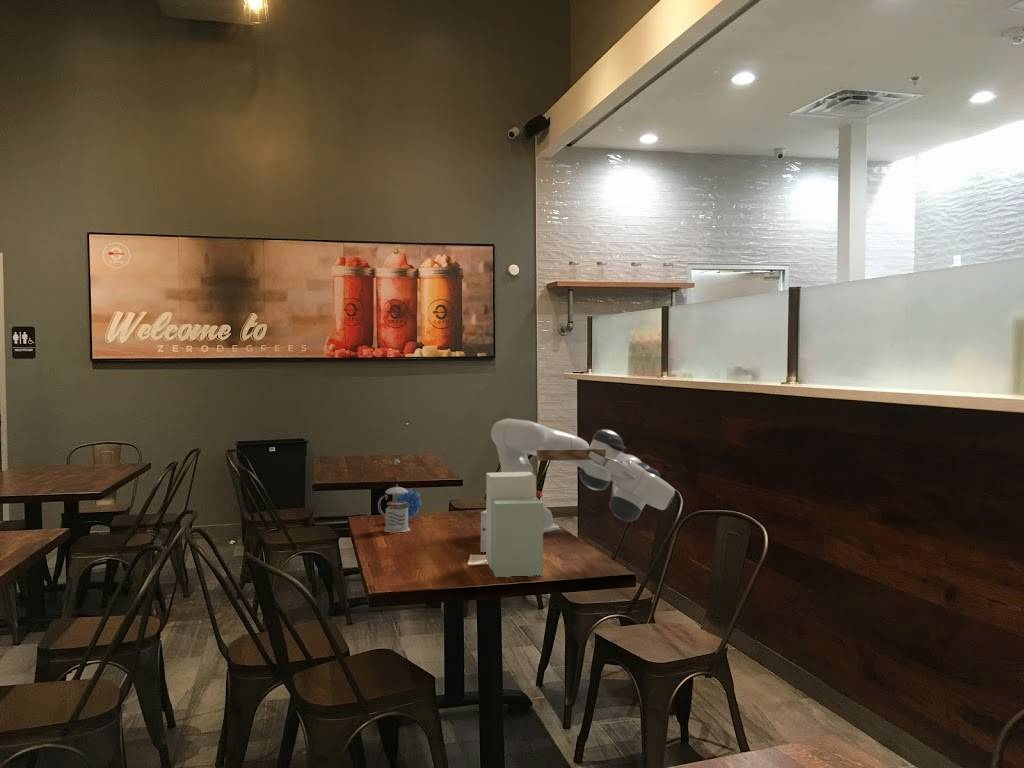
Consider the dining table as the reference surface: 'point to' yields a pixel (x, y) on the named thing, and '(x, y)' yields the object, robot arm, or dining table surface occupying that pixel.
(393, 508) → the french press
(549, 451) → the walnut bar
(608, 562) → the dining table surface
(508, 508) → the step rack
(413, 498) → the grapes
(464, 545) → the dining table surface
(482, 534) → the supplement box
